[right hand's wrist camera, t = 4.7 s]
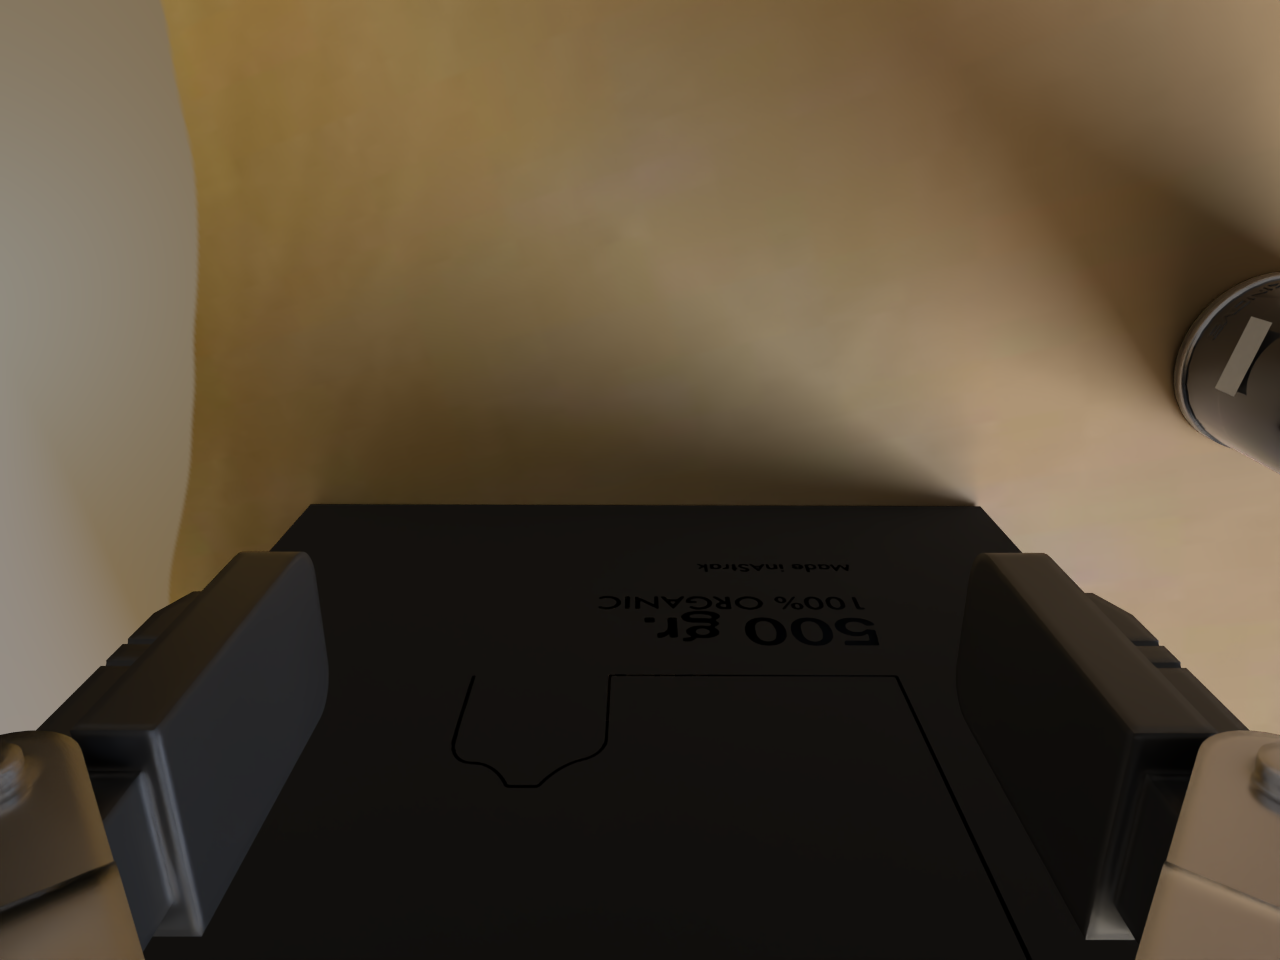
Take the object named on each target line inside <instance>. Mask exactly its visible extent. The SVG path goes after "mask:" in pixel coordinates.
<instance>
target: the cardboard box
mask: <svg viewBox="0 0 1280 960" xmlns="http://www.w3.org/2000/svg"><path fill="white" fill-rule="evenodd" d="M269 552H305V553H307V554H308V555H309V556H310V558H311V560H312V562H313V565H314V569H315V574H316V581H317V588H318V595H319V602H320V609H321V616H322V623H323V630H324V637H325V644H326V651H327V658H328V666H329V685H328V693H327V699H326V704H325V707H324V710H323V713H322V716H321V718H320V720H319V722H318V723H317V725H316V727H315V729H314V731H313V733H312V734H311V736H310V738H309V740H308V742H307V744H306V746H305V747H304V749H303V751H302V753H301V755H300V757H299V758H298V760H297V762H296V764H295V766H294V768H293V769H292V771H291V773H290V775H289V777H288V779H287V781H286V782H285V784H284V786H283V788H282V790H281V792H280V793H279V795H278V797H277V799H276V801H275V803H274V804H273V806H272V808H271V810H270V812H269V814H268V815H267V817H266V819H265V821H264V823H263V825H262V827H261V828H260V830H259V832H258V834H257V836H256V838H255V839H254V841H253V843H252V845H251V847H250V849H249V850H248V852H247V854H246V856H245V858H244V860H243V861H242V863H241V865H240V867H239V869H238V871H237V873H236V874H235V876H234V878H233V880H232V882H231V884H230V885H229V887H228V889H227V891H226V893H225V895H224V896H223V898H222V900H221V902H220V904H219V906H218V908H217V909H216V911H215V913H214V915H213V917H212V919H211V920H210V922H209V924H208V926H207V928H206V930H205V931H204V933H203V935H202V936H152V938H151V940H150V941H149V943H148V945H147V946H146V948H145V950H144V951H143V955H144V958H145V960H1135V958H1136V955H1137V952H1138V948H1139V945H1138V943H1137V942H1136V940H1085V938H1084V936H1083V934H1082V933H1081V931H1080V929H1079V927H1078V925H1077V924H1076V922H1075V920H1074V918H1073V916H1072V914H1071V913H1070V911H1069V909H1068V907H1067V905H1066V904H1065V902H1064V900H1063V898H1062V896H1061V894H1060V893H1059V891H1058V889H1057V887H1056V885H1055V884H1054V882H1053V880H1052V878H1051V876H1050V874H1049V873H1048V871H1047V869H1046V867H1045V865H1044V864H1043V862H1042V860H1041V858H1040V856H1039V854H1038V853H1037V851H1036V849H1035V847H1034V845H1033V844H1032V842H1031V840H1030V838H1029V836H1028V834H1027V833H1026V831H1025V829H1024V827H1023V825H1022V824H1021V822H1020V820H1019V818H1018V816H1017V814H1016V813H1015V811H1014V809H1013V807H1012V805H1011V804H1010V802H1009V800H1008V798H1007V796H1006V794H1005V793H1004V791H1003V789H1002V787H1001V785H1000V784H999V782H998V780H997V778H996V776H995V774H994V773H993V771H992V769H991V767H990V765H989V764H988V762H987V760H986V758H985V756H984V754H983V753H982V751H981V749H980V747H979V745H978V744H977V742H976V740H975V738H974V736H973V734H972V733H971V731H970V729H969V727H968V725H967V724H966V722H965V720H964V718H963V715H962V713H961V710H960V706H959V702H958V697H957V689H956V665H957V658H958V651H959V644H960V637H961V630H962V623H963V617H964V610H965V603H966V596H967V589H968V582H969V576H970V570H971V567H972V564H973V561H974V560H975V558H976V556H978V555H979V554H981V553H1022V552H1021V551H1020V550H1019V549H1018V548H1017V547H1016V546H1015V544H1014V543H1013V542H1012V541H1011V540H1010V539H1009V538H1008V537H1007V536H1006V534H1005V533H1004V532H1003V531H1002V530H1001V529H1000V528H999V527H998V526H997V524H996V523H995V522H994V521H993V520H992V519H991V518H990V517H989V516H988V515H987V513H986V512H985V511H984V510H983V509H982V508H981V507H980V506H679V505H372V504H311V505H310V506H309V507H308V508H307V509H306V510H305V511H304V513H303V514H302V515H301V516H300V517H299V518H298V519H297V521H296V522H295V523H294V524H293V525H292V526H291V527H290V528H289V530H288V531H287V532H286V533H285V534H284V535H283V536H282V538H281V539H280V540H279V541H278V542H277V543H276V544H275V546H274V547H273V548H272V549H271V550H270V551H269ZM626 596H627V598H626V599H625V597H626ZM635 597H636V598H640V600H638V601H636V600H635ZM666 598H667V599H669V601H667V599H666ZM600 608H607V609H600ZM613 608H614V609H613ZM626 608H629V609H626ZM637 608H639V609H637ZM651 618H653V619H652V620H651ZM667 618H669V619H668V620H667ZM673 618H677V621H676V620H674V619H673ZM681 618H682V619H681ZM610 674H613V675H616V676H611V692H610V711H609V720H607V721H606V710H607V692H608V675H610ZM627 674H653V675H654V676H626V675H627ZM660 675H675V676H660ZM693 675H708V676H693Z"/></svg>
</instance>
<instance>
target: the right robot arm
mask: <svg viewBox="0 0 1280 960" xmlns="http://www.w3.org/2000/svg"><path fill="white" fill-rule="evenodd" d="M1174 389H1175V395H1176V399H1177V402H1178V405H1179V407H1180V409H1181V412H1182V413H1183V415H1184V417H1185V418H1186V419H1187V421H1188V422H1189V423H1190V424H1191V425H1192V426H1193V427H1194V428H1195V429H1196V430H1197V431H1198V432H1200V433H1201V434H1203V435H1204V436H1206V437H1208V438H1210V439H1211V440H1213V441H1215V442H1217V443H1219V444H1221V445H1224V446H1226V447H1229V448H1232V449H1234V450H1236V451H1238V452H1240V453H1242V454H1244V455H1245V456H1247V457H1249V458H1251V459H1252V460H1254V461H1256V462H1258V463H1260V464H1262V465H1263V466H1265V467H1267V468H1269V469H1271V470H1273V471H1275V472H1276V473H1278V474H1280V272H1274V273H1268V274H1264V275H1260V276H1257V277H1254V278H1251V279H1248V280H1246V281H1244V282H1242V283H1240V284H1237V285H1236V286H1234V287H1232V288H1230V289H1229V290H1227V291H1226V292H1224V293H1223V294H1221V295H1220V296H1219V297H1218V298H1216V299H1215V300H1214V301H1213V302H1212V303H1211V304H1210V305H1209V306H1207V307H1206V308H1205V309H1204V311H1203V312H1202V313H1201V314H1200V315H1199V316H1198V318H1197V319H1196V320H1195V321H1194V323H1193V324H1192V326H1191V327H1190V329H1189V330H1188V332H1187V334H1186V336H1185V338H1184V340H1183V342H1182V344H1181V347H1180V349H1179V352H1178V355H1177V359H1176V364H1175V370H1174ZM106 662H107V663H106V666H100V667H99V668H98V669H97V670H96V671H95V672H94V673H93V674H92V675H91V676H90V677H89V678H88V679H87V680H86V681H85V682H84V683H83V684H82V685H81V686H80V687H79V688H78V689H77V690H76V691H75V692H74V693H73V694H72V695H71V696H70V697H69V698H68V699H67V700H66V701H65V702H64V703H63V704H62V705H61V706H60V707H59V708H58V709H57V710H56V711H55V712H54V713H53V714H52V715H51V716H50V717H49V718H48V719H47V720H46V721H45V722H44V723H43V724H42V725H41V726H40V727H39V728H38V729H37V730H36V731H22V732H13V733H8V734H3V735H0V960H145V958H144V955H143V951H144V950H145V948H146V946H147V945H148V943H149V941H150V940H151V938H152V936H202V935H203V933H204V931H205V930H206V928H207V926H208V924H209V922H210V920H211V919H212V917H213V915H214V913H215V911H216V909H217V908H218V906H219V904H220V902H221V900H222V898H223V896H224V895H225V893H226V891H227V889H228V887H229V885H230V884H231V882H232V880H233V878H234V876H235V874H236V873H237V871H238V869H239V867H240V865H241V863H242V861H243V860H244V858H245V856H246V854H247V852H248V850H249V849H250V847H251V845H252V843H253V841H254V839H255V838H256V836H257V834H258V832H259V830H260V828H261V827H262V825H263V823H264V821H265V819H266V817H267V815H268V814H269V812H270V810H271V808H272V806H273V804H274V803H275V801H276V799H277V797H278V795H279V793H280V792H281V790H282V788H283V786H284V784H285V782H286V781H287V779H288V777H289V775H290V773H291V771H292V769H293V768H294V766H295V764H296V762H297V760H298V758H299V757H300V755H301V753H302V751H303V749H304V747H305V746H306V744H307V742H308V740H309V738H310V736H311V734H312V733H313V731H314V729H315V727H316V725H317V723H318V722H319V720H320V718H321V716H322V713H323V710H324V707H325V704H326V699H327V693H328V685H329V666H328V658H327V651H326V644H325V637H324V630H323V623H322V616H321V609H320V602H319V595H318V588H317V581H316V574H315V569H314V565H313V562H312V560H311V558H310V556H309V555H308V554H307V553H305V552H240V553H238V554H237V555H236V556H235V557H234V558H233V559H232V560H231V561H230V562H229V563H228V564H227V565H226V566H225V567H224V568H223V569H222V570H221V571H220V572H219V574H218V575H217V576H216V577H215V578H214V579H213V580H212V581H211V582H210V583H209V584H208V585H207V586H206V587H205V588H204V589H203V590H202V591H201V592H192V593H190V594H188V595H186V596H184V597H182V598H181V599H179V600H177V601H175V602H173V603H172V604H170V605H168V606H166V607H164V608H163V609H161V610H159V611H157V612H155V613H154V614H153V615H152V616H151V617H150V618H149V619H148V620H147V621H146V622H145V623H144V624H143V625H142V626H140V627H139V628H138V630H136V631H135V632H134V633H133V634H132V635H131V636H130V637H129V639H128V644H122V645H121V646H120V647H119V648H118V649H117V650H116V651H115V652H114V653H113V654H112V655H111V656H110V657H109V658H108V659H107V661H106ZM1180 663H1181V662H1180V661H1179V660H1178V659H1177V658H1175V657H1174V656H1173V655H1172V654H1171V653H1170V652H1169V651H1168V650H1167V649H1166V648H1165V647H1164V646H1159V644H1158V640H1157V639H1156V638H1155V637H1154V636H1153V635H1152V634H1151V633H1150V632H1149V631H1148V630H1147V629H1146V628H1145V627H1144V626H1143V625H1142V624H1141V623H1140V622H1139V621H1138V620H1137V619H1136V618H1135V617H1134V616H1133V615H1131V614H1130V613H1128V612H1126V611H1124V610H1122V609H1121V608H1119V607H1117V606H1115V605H1113V604H1111V603H1110V602H1108V601H1106V600H1104V599H1102V598H1101V597H1099V596H1097V595H1095V594H1093V593H1084V592H1083V591H1082V590H1081V589H1080V588H1079V587H1078V586H1077V585H1076V584H1075V582H1074V581H1073V580H1072V579H1071V578H1070V577H1069V576H1068V575H1067V574H1066V573H1065V572H1064V571H1063V570H1062V569H1061V568H1060V567H1059V566H1058V565H1057V564H1056V563H1055V562H1054V561H1053V560H1052V559H1051V557H1049V556H1048V555H1047V554H1044V553H981V554H979V555H978V556H976V558H975V560H974V561H973V564H972V567H971V570H970V576H969V582H968V589H967V596H966V603H965V610H964V617H963V623H962V630H961V637H960V644H959V651H958V658H957V665H956V689H957V697H958V702H959V706H960V710H961V713H962V715H963V718H964V720H965V722H966V724H967V725H968V727H969V729H970V731H971V733H972V734H973V736H974V738H975V740H976V742H977V744H978V745H979V747H980V749H981V751H982V753H983V754H984V756H985V758H986V760H987V762H988V764H989V765H990V767H991V769H992V771H993V773H994V774H995V776H996V778H997V780H998V782H999V784H1000V785H1001V787H1002V789H1003V791H1004V793H1005V794H1006V796H1007V798H1008V800H1009V802H1010V804H1011V805H1012V807H1013V809H1014V811H1015V813H1016V814H1017V816H1018V818H1019V820H1020V822H1021V824H1022V825H1023V827H1024V829H1025V831H1026V833H1027V834H1028V836H1029V838H1030V840H1031V842H1032V844H1033V845H1034V847H1035V849H1036V851H1037V853H1038V854H1039V856H1040V858H1041V860H1042V862H1043V864H1044V865H1045V867H1046V869H1047V871H1048V873H1049V874H1050V876H1051V878H1052V880H1053V882H1054V884H1055V885H1056V887H1057V889H1058V891H1059V893H1060V894H1061V896H1062V898H1063V900H1064V902H1065V904H1066V905H1067V907H1068V909H1069V911H1070V913H1071V914H1072V916H1073V918H1074V920H1075V922H1076V924H1077V925H1078V927H1079V929H1080V931H1081V933H1082V934H1083V936H1084V938H1085V940H1136V942H1137V943H1138V945H1139V948H1138V952H1137V955H1136V958H1135V960H1280V735H1277V734H1272V733H1267V732H1259V731H1250V730H1249V729H1248V728H1247V727H1246V726H1245V725H1243V724H1242V723H1241V722H1240V721H1239V720H1238V719H1237V718H1236V717H1235V716H1234V715H1233V714H1232V713H1231V712H1230V711H1229V710H1228V709H1227V708H1226V707H1225V706H1224V705H1223V704H1222V703H1221V702H1220V701H1219V700H1218V699H1217V698H1216V697H1215V696H1214V695H1213V694H1212V693H1211V692H1210V691H1209V690H1208V689H1207V688H1206V687H1205V686H1204V685H1203V684H1202V683H1201V682H1200V681H1199V680H1198V679H1197V678H1196V677H1195V676H1194V675H1193V674H1192V673H1191V672H1190V671H1189V670H1188V669H1187V668H1181V666H1180Z"/></svg>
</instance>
